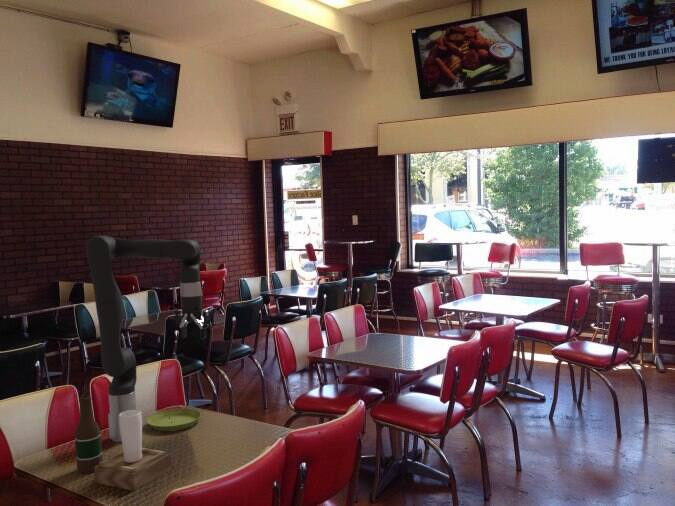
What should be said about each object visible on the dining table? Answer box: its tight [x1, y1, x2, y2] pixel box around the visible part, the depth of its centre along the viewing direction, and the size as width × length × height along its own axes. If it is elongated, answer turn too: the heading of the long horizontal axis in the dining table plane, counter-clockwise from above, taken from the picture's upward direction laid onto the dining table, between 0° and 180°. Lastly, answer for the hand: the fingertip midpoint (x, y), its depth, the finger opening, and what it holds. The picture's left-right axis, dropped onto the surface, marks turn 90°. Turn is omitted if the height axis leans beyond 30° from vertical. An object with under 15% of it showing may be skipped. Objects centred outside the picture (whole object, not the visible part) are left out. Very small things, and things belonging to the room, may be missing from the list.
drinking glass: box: [119, 409, 143, 463], centre depth 186 cm, size 7×7×15 cm
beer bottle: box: [74, 395, 104, 474], centre depth 193 cm, size 8×8×24 cm
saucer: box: [146, 408, 202, 432], centre depth 233 cm, size 21×21×3 cm
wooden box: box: [94, 447, 172, 492], centre depth 187 cm, size 16×16×6 cm
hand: (193, 338), depth 218 cm, fingers open, 8 cm apart
